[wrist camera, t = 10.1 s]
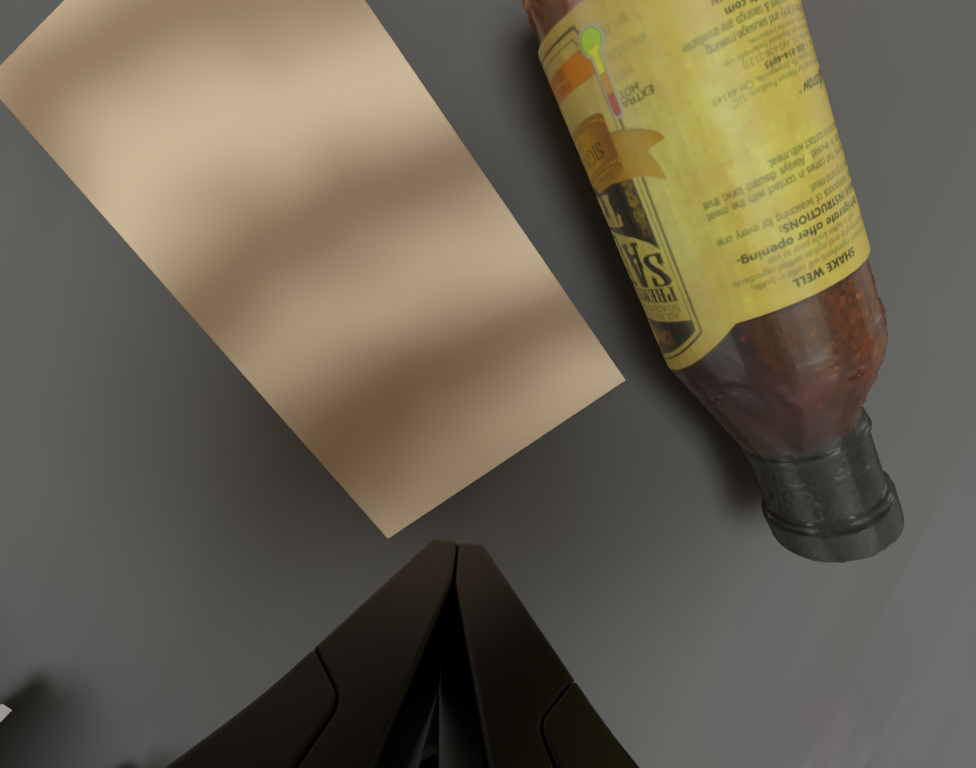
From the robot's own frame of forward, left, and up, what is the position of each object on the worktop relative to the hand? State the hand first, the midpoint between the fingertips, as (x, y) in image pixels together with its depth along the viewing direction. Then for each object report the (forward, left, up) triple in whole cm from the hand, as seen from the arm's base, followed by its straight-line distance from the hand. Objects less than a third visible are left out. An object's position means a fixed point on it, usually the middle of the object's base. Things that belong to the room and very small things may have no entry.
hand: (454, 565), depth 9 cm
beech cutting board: (+7, +1, -12) cm, 14 cm away
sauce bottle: (+8, -11, -9) cm, 17 cm away
